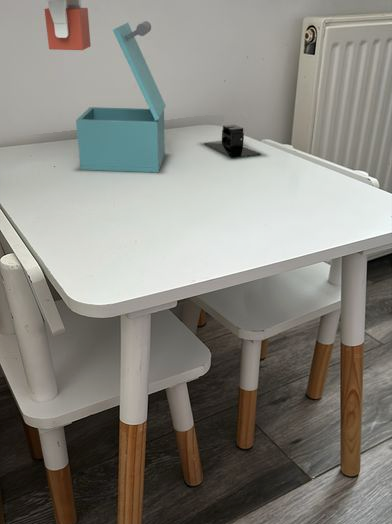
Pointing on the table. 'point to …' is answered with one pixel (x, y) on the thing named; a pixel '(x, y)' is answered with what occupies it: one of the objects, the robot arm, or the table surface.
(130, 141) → the box
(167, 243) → the table surface
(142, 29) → the freezer lid
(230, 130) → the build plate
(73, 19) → the red cube
